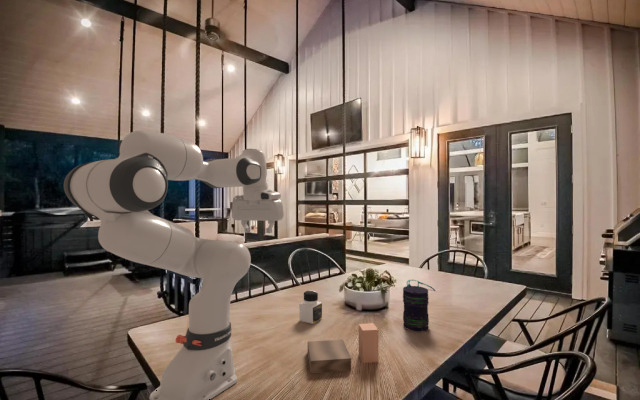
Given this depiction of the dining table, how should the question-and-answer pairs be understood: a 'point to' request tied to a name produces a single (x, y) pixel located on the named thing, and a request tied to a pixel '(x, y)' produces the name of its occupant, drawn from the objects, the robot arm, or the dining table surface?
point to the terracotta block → (368, 343)
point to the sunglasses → (418, 284)
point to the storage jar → (415, 308)
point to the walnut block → (328, 356)
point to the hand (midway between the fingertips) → (258, 232)
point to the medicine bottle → (310, 308)
